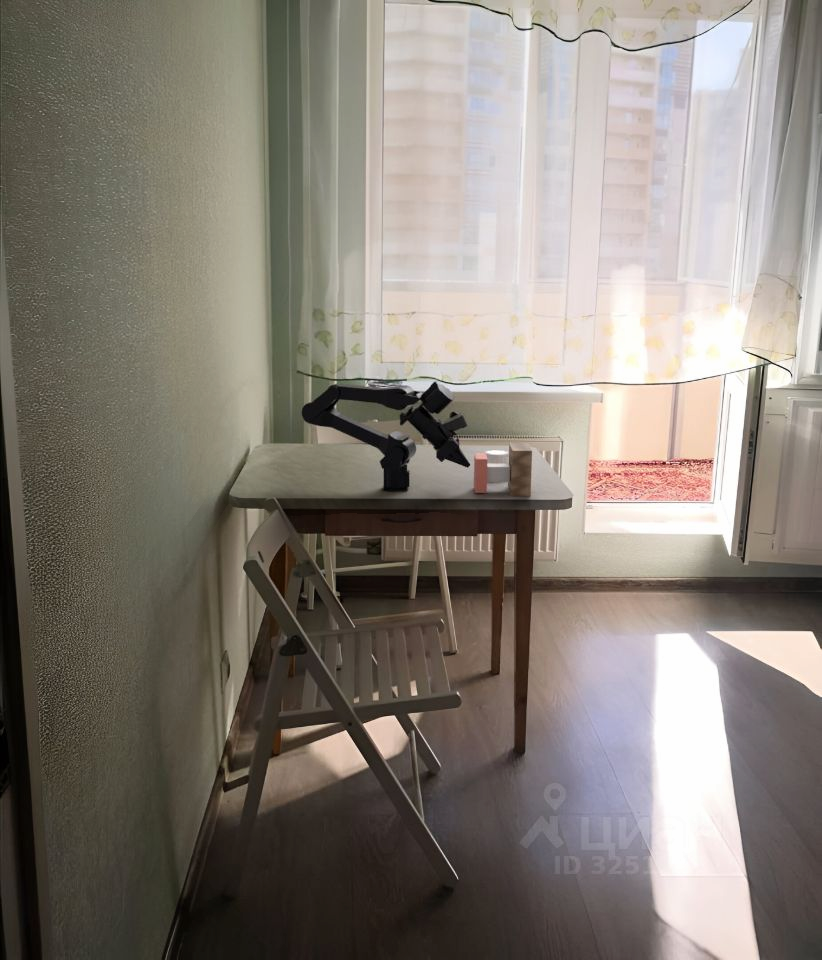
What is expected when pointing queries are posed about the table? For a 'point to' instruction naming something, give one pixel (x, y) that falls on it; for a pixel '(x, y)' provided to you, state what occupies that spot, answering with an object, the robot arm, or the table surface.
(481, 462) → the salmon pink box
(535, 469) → the table surface
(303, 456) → the table surface
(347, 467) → the table surface
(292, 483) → the table surface
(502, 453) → the shot glass
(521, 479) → the block
